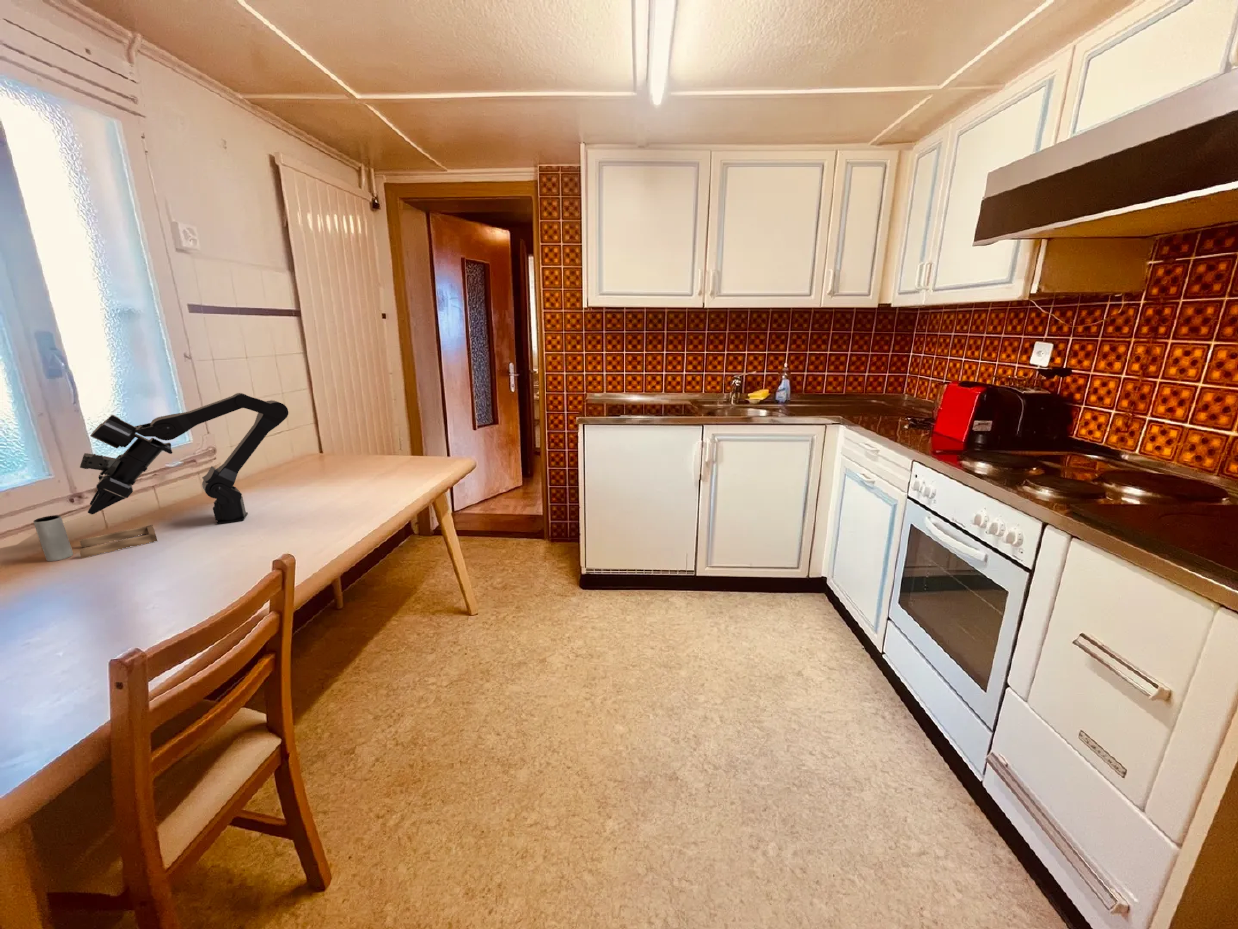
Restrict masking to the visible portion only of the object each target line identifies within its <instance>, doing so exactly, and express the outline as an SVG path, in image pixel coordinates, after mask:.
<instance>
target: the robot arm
mask: <svg viewBox="0 0 1238 929" xmlns="http://www.w3.org/2000/svg"><path fill="white" fill-rule="evenodd" d="M240 409H246V410H249V411H252V412H256V413H257V414H256V418H255V420H254V423H253V425H252V426H251V427H250V429H249V430H248V431H247V433H246V434H245V435H244V437H243V438H242V439H241V440H240V442H238V444H237V446H235V448H234V449H233V451H232V452H231V453H230V455H229V456H228V458H227V459H226V460H225V461H224V462H223V463H222V464H221V465H220V466H219V467H217V468H216V467H214V466H213V465H211V466H210V467H209V470H208V472H207V473H206V474H205V475H204V476H202V477H201V479H202V480H203V481H202V482H201V486H202V490H203V491H204V492H205V494H206V496H208V497H209V498H211V499H215V500H214V502H213V505H214V506H213V507H212V511H213V516H214V520H215V521H216V522H215V523H216V524H217V525H222V524H228V523H234V522H241V521H242V522H243V521H244V520H245V519H246V517H247V516H248V515H249V513H248V512H246V507H245V501H244V498H243V494H242V493H241V491H239V489H238V488H237V487H236V486H234V485H235V482H236V480H237V477H238V475H239V474H238V473H239V472H240V470H242V468H243V466H244V465H245V464H246V463H247V461H248V460H249V459H250V457H251V456H252V454H253V453H254V452H255V451H256V449H258V446H259V445H261V443H262V442H263V440H264V439H265V438H266V436H268V434H269V433H270V432H271V431H272V430H274V429H275V428H277V427H278V426H279V425H280V424H282V423H283V422H284V421H285V420H286V419H287V417H288V416H289V414H290V412H289V409H288V407H287V406H286V405H285V404H284V403H282V402H279V401H277V400H273V399H271V400H262V399H259V398H256V397H253V396H250V395H247V394H245V393H242V392H236V393H235V394H233V395H232V396H228V397H225V398H223V399H220V400H217V401H214V402H211V403H209V404H206V405H203V406H200V407H198V408H194V409H192V410H189V411H185V412H179V413H173V414H167V415H166V414H165V415H163V416H162V415H161V416H157V417H156V418H153V419H152V421H151V422H147V423H144V424H143V423H142V424H139V425H135V426H134V425H133V424H131V423H129V422H127V421H124V420H122V419H121V418H120V417H118V416H116V415H114V414H111V415H110V416H109V417H108V418H107V419H105V420H104V421H103V422H102V423H100V424H99V425H98V426H97V427H96V428H95V429H94V430H93V431H92V432H91V434H90V437H92V438H93V439H95V440H98V442H99V441H100V442H102V443H104V444H107V446H108V445H109V446H110V447H112V448H114V449H119V448H127V447H128V446H129V447H128V448H127V449H126V450H125V451H124V453H121V454H119V455H117V456H116V457H110V456H106V455H105V456H104V455H102V454H101V455H100V454H96V453H88V452H87V453H85V452H84V454H83V456H82V459H81V462H80V465H79V468H81V469H83V470H89V469H91V470H96V471H100V472H99V474H98V482H97V484H96V486H95V487H96V492H95V493H94V495H93V497H92V499H91V501H90V503H89V505H90V506H89V509H88V510H87V513H88V514H90V515H94V514H97V513H99V512H101V511H102V510H104V509H106V508H108V507H111V506H113V505H115V504H117V503H118V502H120V501H123V500H125V499H127V498H129V497H130V496H131V495H132V494H133V493H134V489H133V485H135V483H136V480H137V479H139V477H140V476H141V475H142V473H145V472H147V470H148V467H149V466H150V465H151V464H152V463H154V461H155V460H156V458H158V456H159V455H160V454H161V453H162V452H165V453H168V454H169V455H172V454H173V453H174V452H173V451H172V444H171V442H167V441H172V440H175V439H177V438H178V437H180V436H182V435H184V434H185V433H187V432H188V431H190V430H192V429H193V428H194V427H196V426H199V425H200V424H203V423H205V422H208V421H212V420H214V419H217V418H219V417H222V416H224V415H227V414H230V413H233V412H235V411H238V410H240ZM145 437H149V438H150V437H151V438H150V439H148V438H145ZM135 438H136V440H135V441H134V439H135ZM158 439H159V440H158ZM160 440H161V441H160ZM133 441H134V442H133ZM163 441H166V442H163ZM132 442H133V443H132ZM129 444H131V445H129Z"/></svg>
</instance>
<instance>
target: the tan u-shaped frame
mask: <svg viewBox="0 0 1238 929" xmlns="http://www.w3.org/2000/svg"><path fill="white" fill-rule="evenodd" d="M141 534H146V535H141ZM138 535H141V536H138ZM134 536H137V537H134ZM130 537H132V538H130ZM126 538H127V539H126ZM122 539H123V540H122ZM114 540H118V541H114ZM109 541H113V542H109ZM154 541H157V542H158V538H157V534H156V532H155V528H154V526H153V524H150V525H144V526H140V527H135V528H130V529H125V530H120V531H116V532H110V533H106V534H102V535H97V536H91V537H87V538H82V539H79V543H80V547H81V548H80V549H78V551H79V555H80V557H81V559H85V558H90V557H93V556H92V555H95V556H98V555H97V554H99V555H101V554H100V553H104V552H108V553H112V552H116V551H115V550H117V551H119V550H118V549H121V550H123V549H122V548H126V547H130V546H135V547H138V546H137V545H139V546H142V545H141V544H143V545H147V544H146V543H148V544H150V543H149V542H152V543H155V542H154ZM105 542H109V543H105ZM102 543H104V544H102ZM97 544H100V545H97ZM93 545H95V546H93ZM86 546H90V547H86ZM82 547H86V548H82ZM130 548H131V547H130ZM126 549H127V548H126ZM111 551H112V552H111ZM104 554H105V553H104ZM89 556H90V557H89Z"/></svg>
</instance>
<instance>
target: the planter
mask: <svg viewBox="0 0 1238 929" xmlns="http://www.w3.org/2000/svg"><path fill="white" fill-rule="evenodd" d="M33 526H34V528H35V531H36V533H37V537H38V540H39V542H40V545H41V546H40V547H41V549H42V551H43V554H44V557H45V559H46V561H47V562H55V561H62V560H65V559H68V558H71V557H72V556H73V555H74V552H73V548H72V546H71V543H70V540H69V537H68V534H67V530H66V527H65V525H64V520H63V518H62V516H61V515H58V514H55V515H46V516H43V517H39V518H37V519H34V520H33Z"/></svg>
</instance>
